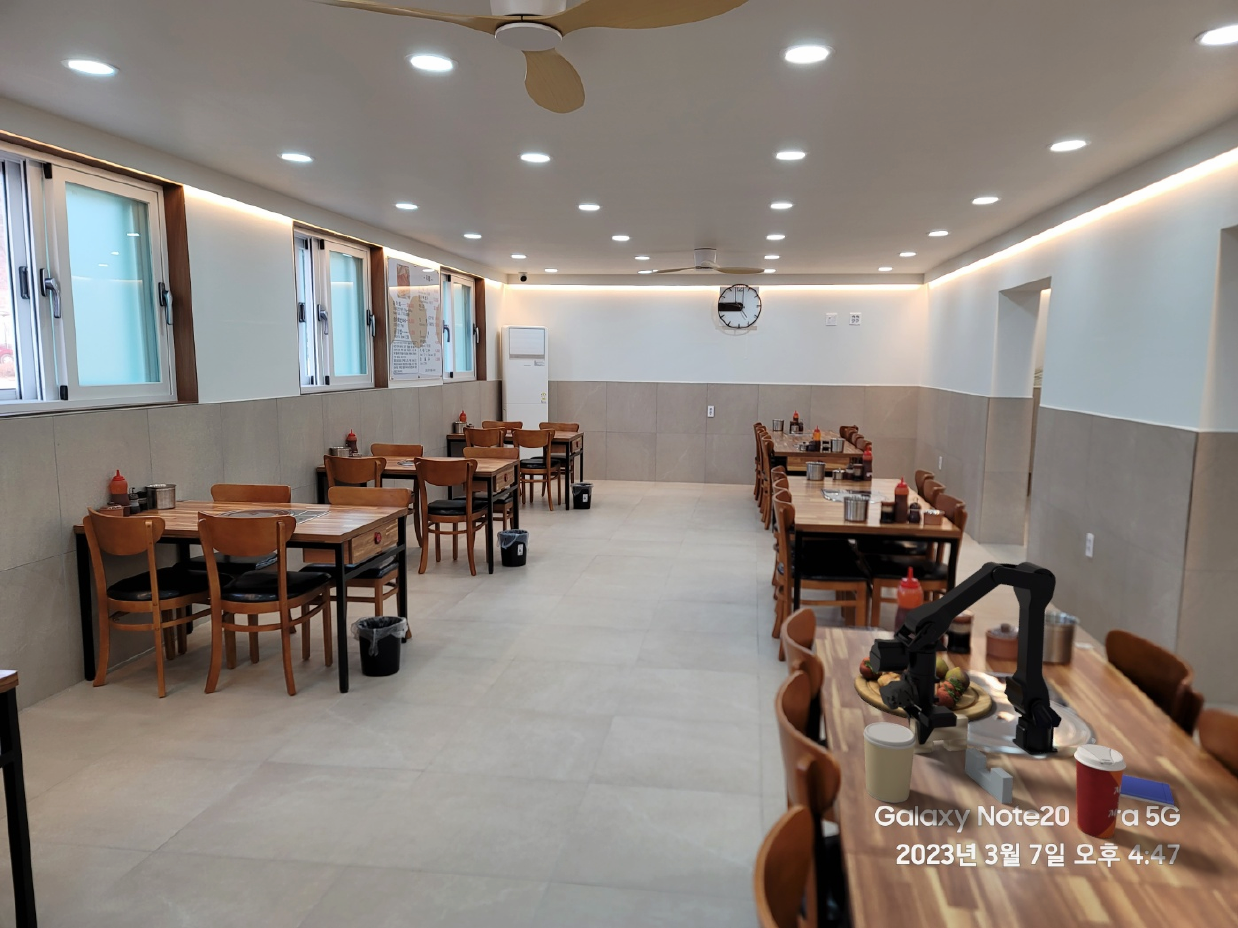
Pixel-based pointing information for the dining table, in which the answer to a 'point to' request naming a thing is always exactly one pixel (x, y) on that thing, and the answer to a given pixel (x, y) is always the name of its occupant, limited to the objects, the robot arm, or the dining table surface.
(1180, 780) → the dining table surface
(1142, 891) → the dining table surface
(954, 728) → the birch plate
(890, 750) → the coffee cup
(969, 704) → the wooden plate with food
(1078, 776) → the paper cup
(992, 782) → the gray u-shaped block
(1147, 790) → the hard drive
